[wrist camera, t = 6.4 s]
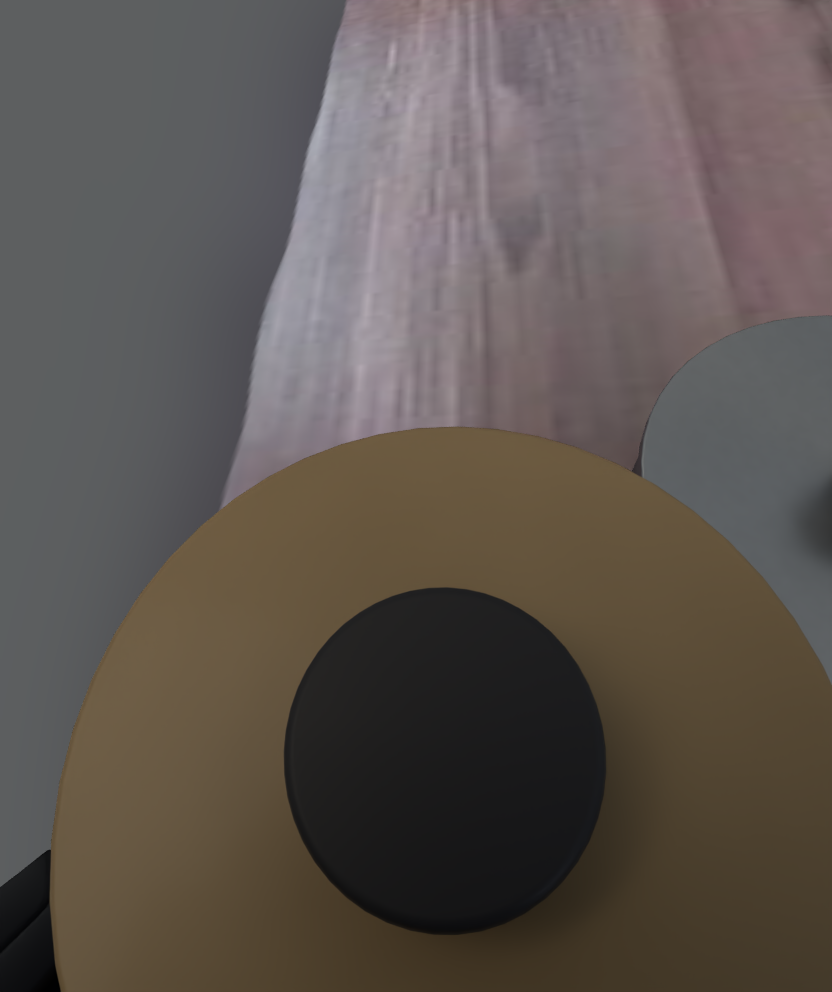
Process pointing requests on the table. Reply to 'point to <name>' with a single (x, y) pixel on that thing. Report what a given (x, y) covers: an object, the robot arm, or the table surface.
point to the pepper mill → (450, 744)
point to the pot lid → (758, 457)
